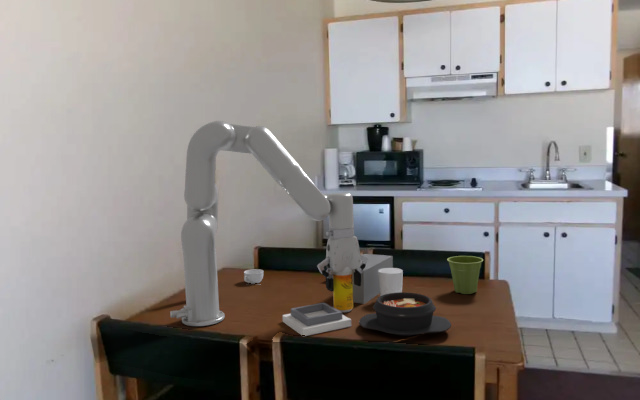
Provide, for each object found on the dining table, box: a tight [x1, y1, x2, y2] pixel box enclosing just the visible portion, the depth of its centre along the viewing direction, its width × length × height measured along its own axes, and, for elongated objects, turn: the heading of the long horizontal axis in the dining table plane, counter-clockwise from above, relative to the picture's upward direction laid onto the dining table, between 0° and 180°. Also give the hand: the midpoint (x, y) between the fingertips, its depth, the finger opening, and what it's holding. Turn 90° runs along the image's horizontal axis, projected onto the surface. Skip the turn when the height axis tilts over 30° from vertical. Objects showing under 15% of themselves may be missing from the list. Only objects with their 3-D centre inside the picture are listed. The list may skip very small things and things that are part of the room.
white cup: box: [378, 267, 404, 297], centre depth 168 cm, size 8×8×10 cm
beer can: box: [332, 267, 354, 313], centre depth 160 cm, size 6×6×15 cm
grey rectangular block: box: [332, 253, 394, 305], centre depth 182 cm, size 25×23×11 cm
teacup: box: [243, 268, 264, 285], centre depth 196 cm, size 10×10×5 cm
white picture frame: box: [282, 302, 352, 337], centre depth 148 cm, size 15×14×4 cm
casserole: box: [358, 291, 452, 337], centre depth 142 cm, size 25×19×8 cm
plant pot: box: [446, 255, 484, 295], centre depth 176 cm, size 12×12×11 cm
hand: (344, 287), depth 160 cm, fingers open, 9 cm apart
